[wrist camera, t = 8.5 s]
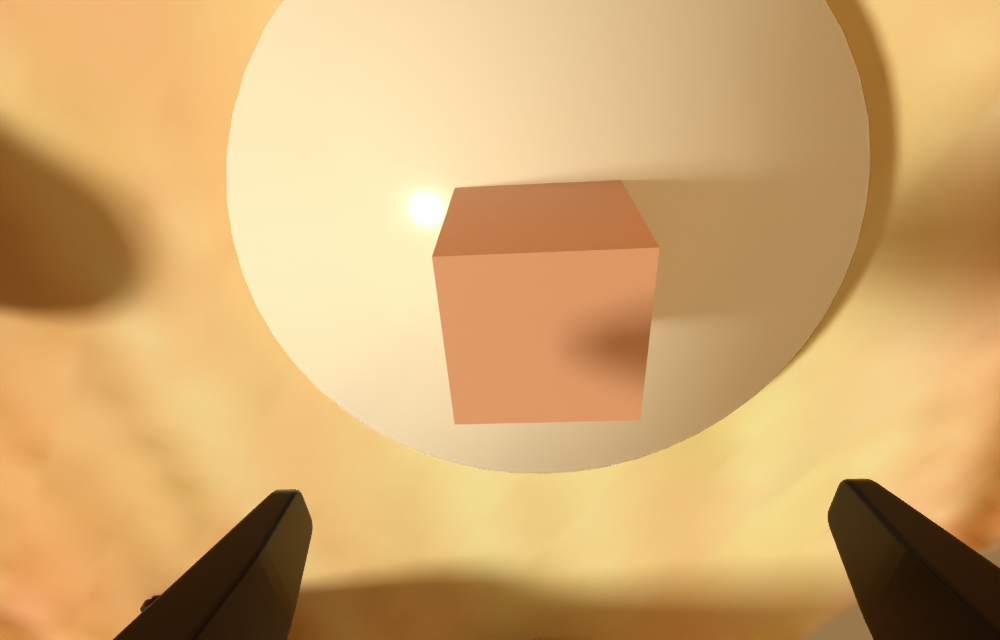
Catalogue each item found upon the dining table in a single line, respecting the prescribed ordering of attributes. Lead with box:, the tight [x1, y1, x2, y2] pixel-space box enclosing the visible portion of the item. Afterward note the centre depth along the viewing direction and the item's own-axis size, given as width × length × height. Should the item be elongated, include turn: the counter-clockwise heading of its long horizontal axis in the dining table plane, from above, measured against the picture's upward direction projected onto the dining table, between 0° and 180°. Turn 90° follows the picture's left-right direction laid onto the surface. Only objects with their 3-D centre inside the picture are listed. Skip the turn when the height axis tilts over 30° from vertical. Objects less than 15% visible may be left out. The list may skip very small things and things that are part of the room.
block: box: [432, 180, 660, 425], centre depth 15 cm, size 5×5×5 cm
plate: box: [227, 0, 871, 474], centre depth 18 cm, size 20×20×1 cm
